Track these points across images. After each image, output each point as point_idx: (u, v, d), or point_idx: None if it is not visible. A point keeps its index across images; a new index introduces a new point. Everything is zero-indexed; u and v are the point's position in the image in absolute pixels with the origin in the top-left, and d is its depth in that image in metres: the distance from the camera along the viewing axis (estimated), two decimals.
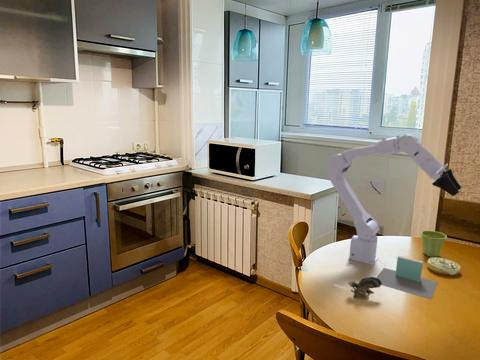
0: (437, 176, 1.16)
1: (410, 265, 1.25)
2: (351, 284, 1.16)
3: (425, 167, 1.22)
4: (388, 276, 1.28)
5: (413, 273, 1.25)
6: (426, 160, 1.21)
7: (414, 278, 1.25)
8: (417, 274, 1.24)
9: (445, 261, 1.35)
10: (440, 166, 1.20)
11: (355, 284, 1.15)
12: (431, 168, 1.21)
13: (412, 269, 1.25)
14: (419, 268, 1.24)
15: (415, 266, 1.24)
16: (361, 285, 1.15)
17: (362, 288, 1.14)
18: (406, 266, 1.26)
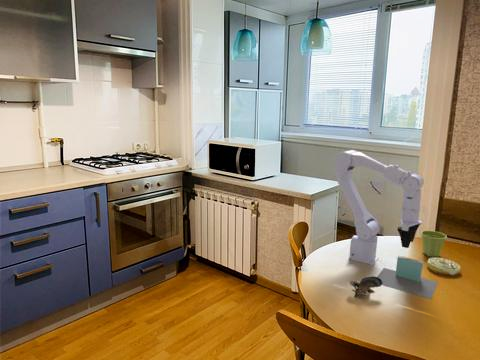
0: (406, 229, 1.24)
1: (410, 265, 1.25)
2: (352, 283, 1.16)
3: (405, 212, 1.27)
4: (388, 276, 1.28)
5: (413, 273, 1.25)
6: (410, 209, 1.26)
7: (414, 278, 1.25)
8: (417, 274, 1.24)
9: (445, 261, 1.35)
10: (415, 220, 1.27)
11: (356, 283, 1.15)
12: (408, 217, 1.27)
13: (412, 269, 1.25)
14: (419, 268, 1.24)
15: (415, 266, 1.24)
16: (362, 284, 1.15)
17: (363, 287, 1.15)
18: (406, 266, 1.26)
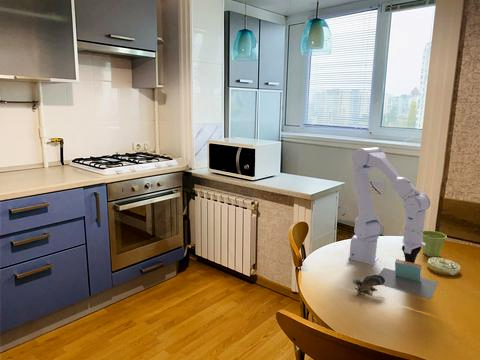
0: (409, 251, 1.18)
1: (408, 269, 1.23)
2: (355, 282, 1.17)
3: (408, 233, 1.22)
4: (388, 276, 1.28)
5: (412, 275, 1.24)
6: (411, 229, 1.21)
7: (414, 279, 1.25)
8: (417, 276, 1.23)
9: (445, 261, 1.35)
10: (419, 242, 1.21)
11: (359, 282, 1.16)
12: (411, 238, 1.21)
13: (411, 272, 1.24)
14: (418, 272, 1.22)
15: (413, 270, 1.23)
16: (365, 283, 1.16)
17: (366, 286, 1.16)
18: (405, 269, 1.25)
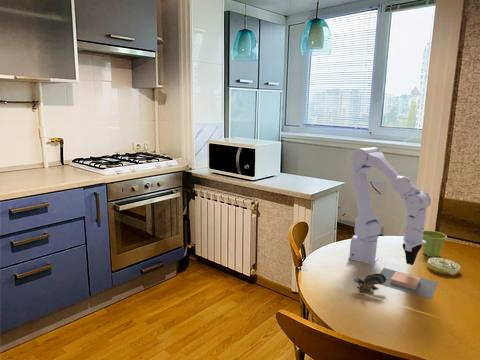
0: (409, 249, 1.19)
1: None
2: (356, 281, 1.18)
3: (409, 231, 1.23)
4: (388, 276, 1.28)
5: None
6: (412, 228, 1.22)
7: None
8: None
9: (445, 261, 1.35)
10: (419, 240, 1.22)
11: (360, 280, 1.17)
12: (412, 236, 1.22)
13: None
14: None
15: None
16: (367, 281, 1.17)
17: (367, 284, 1.17)
18: None
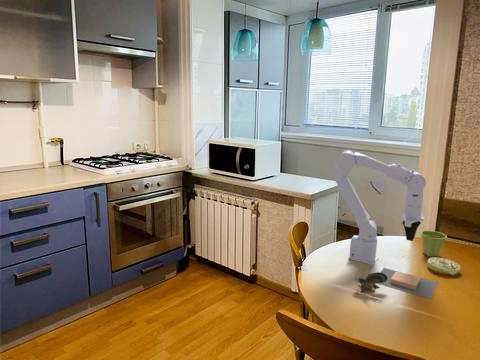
0: (409, 225, 1.28)
1: None
2: (358, 279, 1.19)
3: (408, 209, 1.31)
4: (388, 276, 1.28)
5: None
6: (416, 206, 1.30)
7: None
8: None
9: (445, 261, 1.35)
10: (418, 217, 1.31)
11: (362, 279, 1.18)
12: (411, 213, 1.31)
13: None
14: None
15: None
16: (368, 280, 1.18)
17: (369, 283, 1.17)
18: None
